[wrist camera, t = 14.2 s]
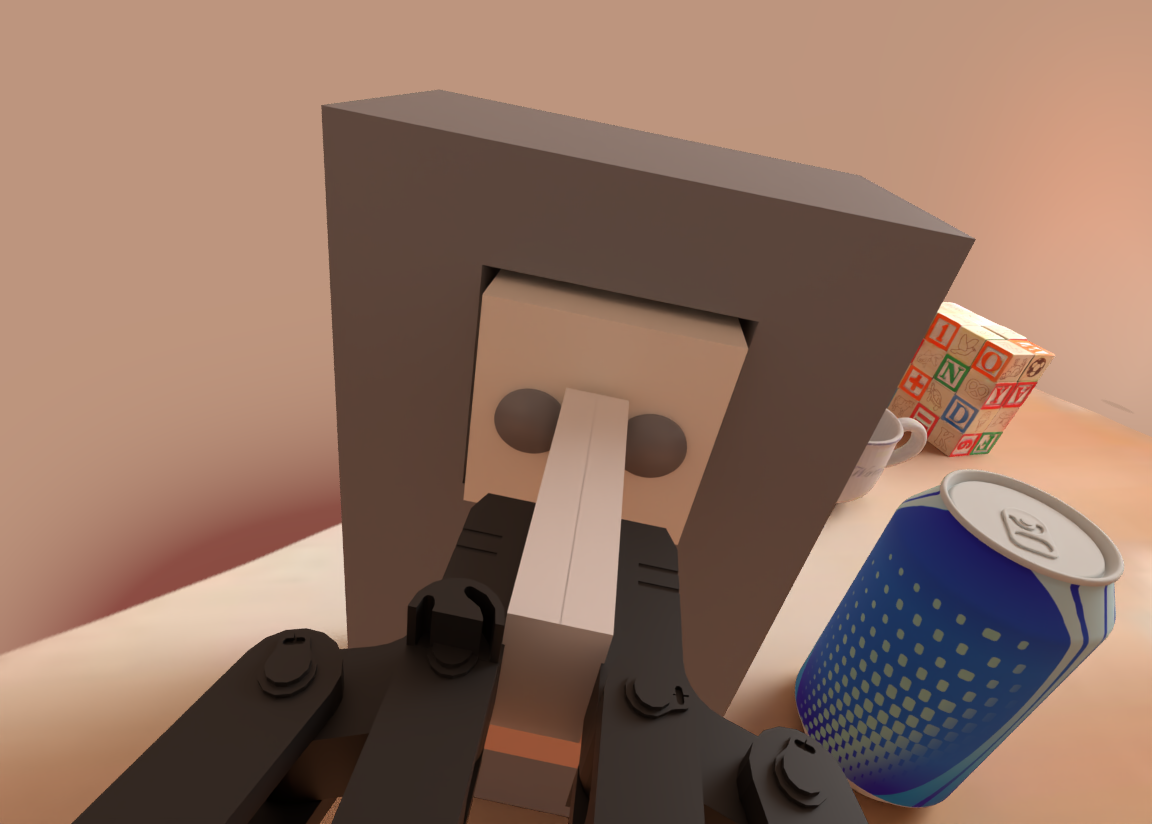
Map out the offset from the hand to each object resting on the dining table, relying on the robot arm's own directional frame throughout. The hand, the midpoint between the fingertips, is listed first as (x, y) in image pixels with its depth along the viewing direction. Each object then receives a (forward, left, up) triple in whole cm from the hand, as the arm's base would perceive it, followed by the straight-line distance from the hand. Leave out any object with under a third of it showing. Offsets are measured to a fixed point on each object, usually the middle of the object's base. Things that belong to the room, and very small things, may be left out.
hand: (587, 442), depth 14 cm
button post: (+5, -2, -21) cm, 22 cm away
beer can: (0, -20, -21) cm, 29 cm away
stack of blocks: (+33, -55, -21) cm, 68 cm away
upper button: (+4, -2, -3) cm, 5 cm away
